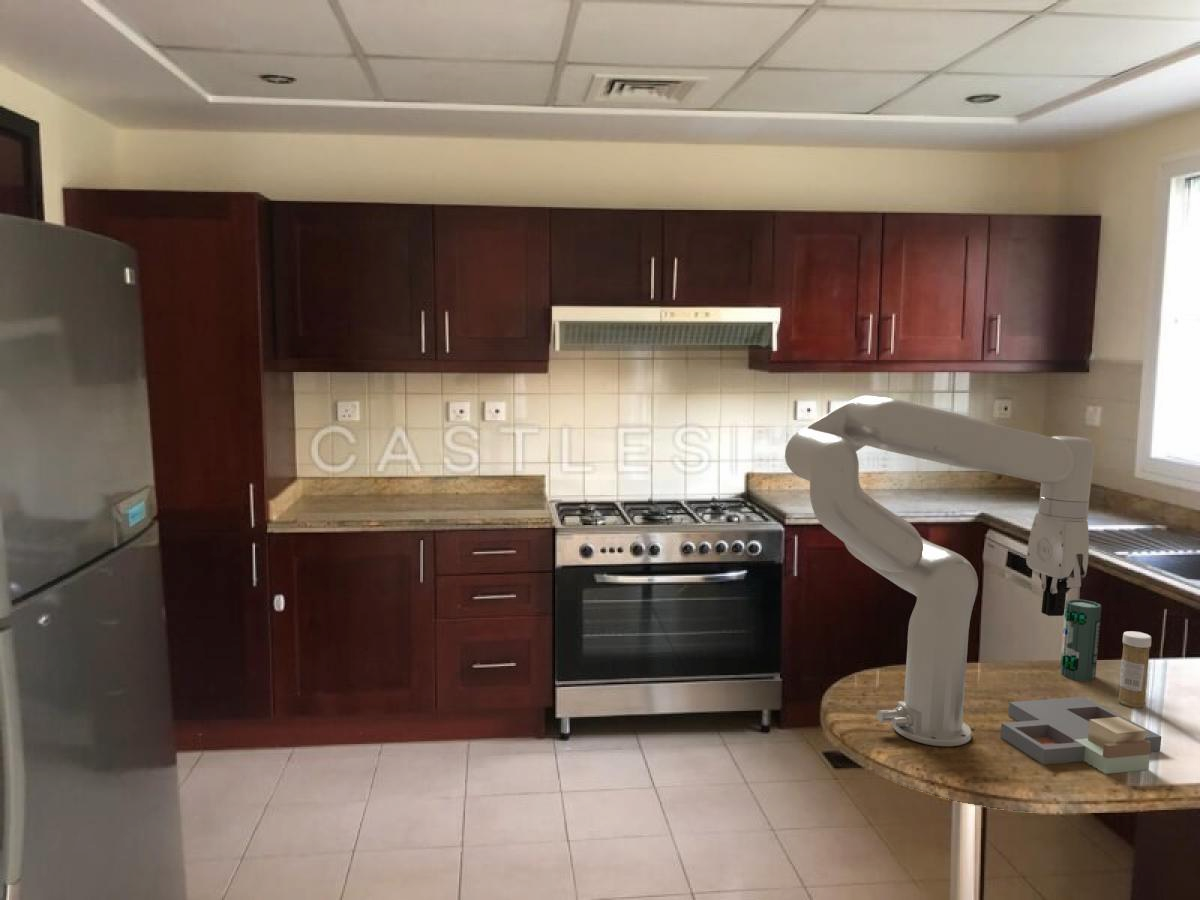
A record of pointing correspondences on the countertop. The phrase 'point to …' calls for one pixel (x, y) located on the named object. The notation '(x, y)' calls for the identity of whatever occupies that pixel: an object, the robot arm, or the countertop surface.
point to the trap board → (1073, 735)
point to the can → (1080, 639)
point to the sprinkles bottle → (1134, 669)
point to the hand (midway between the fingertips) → (1052, 614)
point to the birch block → (1113, 731)
